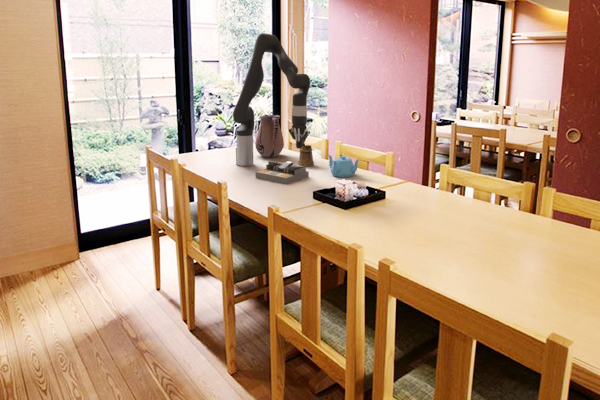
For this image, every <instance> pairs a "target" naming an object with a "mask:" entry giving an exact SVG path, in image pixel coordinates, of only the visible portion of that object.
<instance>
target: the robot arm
mask: <svg viewBox="0 0 600 400" xmlns="http://www.w3.org/2000/svg"><path fill="white" fill-rule="evenodd" d="M265 53H269V54H270V53H271V54H273V55H274V56H275V57H276V59H277V65H278V67H279V68H280V71H281V72H282V73H283V74H284V75H285V77H286V79H287V82H288V85H289V86H290V87H291V88H293V89H298V91H297V92H296V93H293V94H292V107H291V123H292V124H291V125H292V126H291V128H289V129H288V132H289V134H290V137H291V138H292V140H294V141H295V148H296V149H299V150H300V148H301V147H302V141H303V140H305V139H306V140H307V138H308V137H309V135H310V134H311V131H310V130H308V128H307V124H308V123H307V122H308V121H307V118H308V109H307V102H308V101H307V96H308V94H309V90H310V85H311V79H310V76H309V74H307V73H298V72H299V69H298V66H297V65H296V64H295V63H294V62H293V61H292V59H291V58H290V57H289V56H288V54H287V52H286V51H285V48H284V47H283V45H282V44H281V42H280V40H279V38H278V37H277V36H276V35H274V34H272V33H263V32H261V33H259V34H258V35H257V37H256V38H255V41H254V46H253V50H252V55H251V60H250V63H249V67H248V70H247V73H246V76H245V79H244V82H243V86H242V89H241V91H240V95H239V98H238V100H237V102H236V105H235V106H234V109H233V112H232V117H233V121H234V122H235V123H236V124H240V125H239V127H238V128H237V129H236V133H235V134H236V147H235V164H236V165H238V166H241V167H250V166H253V165H254V130H255V112H254V109H253V108H252V106H250V104H251V102H252V100H253V99H254V98H255V96H256V95H257V94H258V93H259V91H260V89H261V88H262V84H263V81H264V78H265V77H264V75H265V74H264V69H263V64H262V63H263V59H264V55H265ZM297 134H298V135H297ZM306 140H305V141H306Z"/></svg>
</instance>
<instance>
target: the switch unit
mask: <svg viewBox="0 0 600 400" xmlns="http://www.w3.org/2000/svg"><path fill="white" fill-rule="evenodd" d="M275 163H279V162H275ZM283 164H284V163H280V165H276V166H274V165H269V164H268V163H267V164H266V165H265V167H266V168H265V169H261V170H258V171H255V178H256V179H260V180H264V181H269V182H274V183H275V182H276V183H279V184H285V185H289V184H291V183H292V184H293V183H295V182H298V181H301V180H304V179H308V178H309V176H310V175H309V173H310V171H308V170H307V167H305V166H303V167H304V168H300V169H297V170H289V167H286V168H284V171H280V170H279V169H278V167H280V166H281V165H283ZM292 166H296V165H294V164H293V165H292Z"/></svg>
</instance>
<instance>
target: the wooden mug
mask: <svg viewBox="0 0 600 400" xmlns="http://www.w3.org/2000/svg"><path fill="white" fill-rule="evenodd" d="M297 135H298V134H297ZM306 140H307V138H306V139H305V140H303V141H302V147H301V148H300V149H299V158H298V162H297V163H298V165H297V166H303V167H306V168H309V167H313V166H314V165H315V162H314V158H313V147H312V145H310V144H308V145H307V144H306V143H305V142H306Z"/></svg>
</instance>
